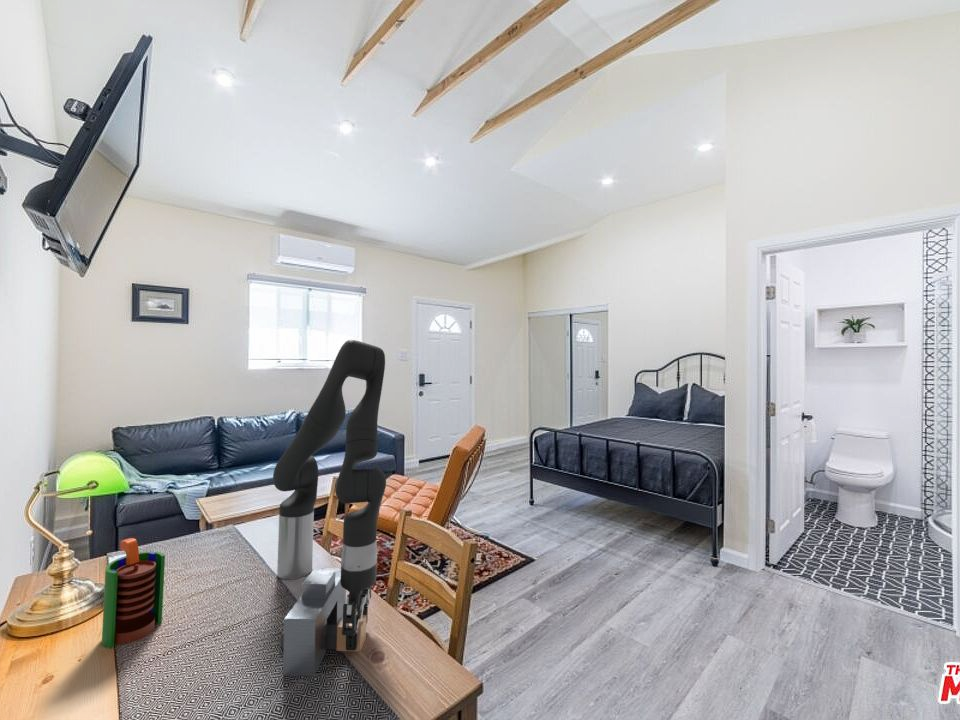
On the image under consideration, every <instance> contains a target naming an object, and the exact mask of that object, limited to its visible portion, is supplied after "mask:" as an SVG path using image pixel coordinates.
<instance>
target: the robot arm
mask: <svg viewBox="0 0 960 720" xmlns="http://www.w3.org/2000/svg"><path fill="white" fill-rule="evenodd" d="M385 369H386V355H385V351H384V350H383V348H381V347H378V346H376V345H372V344H371V343H366V342H363V341H359V340H356V339H348V340H346V341H345V342H344V343H343V344H342V345H341V347H340V349H339V350H338V352H337V355H336V357H335V359H334V360H333V363H332V366H331V369H330V370H329V373H328V376H327V377H326V380H325V382H324V384H323V386H322V388H321V389H320V391H319V393H318V395H317V397H316V399H315V401H314V402H313V403H312V405H311V407H310V408H309V411H308V412H307V413H306V415H305V418H304V420H303V422H302V424H301V426H300V427H299V429H298V431H297V433H296V434H295V436H294V438H293V440H292V441H291V443H290V444H289V446H288V447H287V449H286V450H285V451H284V453H283V454H282V456H281V457H280V458H279V460H278V461H277V463H276V464H275V467H274V468H273V475H272V483H273V485H274V487H275V489H276V490H278V491H280V492H292V494H291V495H290V496H289V497H287V498H286V499H283V501H281V503H280V504H279V508H278V510H279V511H278V542H277V543H278V544H277V545H278V546H277V547H278V548H277V571H276V573H277V574H276V575H277V577H278V578H279V579H282V580H297V579H301V578H303V577H306V576H308V575H310V573H311V572H312V571H313V557H314V556H313V553H314V552H313V551H314V520H315V519H314V517H315V516H314V515H315V504H316V501H317V496H318V484H319V466H318V465H319V464H318V462H317V459H316V458H315V457H314V456H313V455H314V454H316V453H318V452H319V451H320V450H322V448H324V447H325V446H326V445H327V444H329V443H330V442H331V441H332V440H333V438H335V437H336V435H337V434H338V432H339V430H340V429H341V427H342V425H343V423H344V421H345V419H346V414H347V410H346V404H345V400H344V396H343V385H344V383H345V381H346V380H347V378H348V377H349V378H350V377H351V378H355V379H359V380H364V381H365V393H364V394H363V397H362V398H361V399H360V401H359V402H358V404H357V405H356V406H355V408H354V409H353V411H352V412H351V414H350V416H349V417H348V420H347V424H346V431H345V432H346V433H345V452H344V458H343V461H342V464H341V469H340V472H339V474H338V477H337V480H336V483H335V489H334V490H335V491H334V493H335V496H336V498H337V500H338V501H339V502H340V503H342V504H360V503H367V504H366V505H365V506H364V507H362V508H360V509H357V510H353V511H351V512H349V513H347V514H346V515H345V516H344V517H343V525H342V527H343V529H342V548H341V556H340V559H341V560H340V568H341V586H342V587H343V588H344V589H346V591H347V592H349V594H346V604H344V606H343V624H342V635H346V650H356V648H357V637H358V625H359V620H361V619H362V615H367V617H366V625H367V624H368V620H369V619H368V618H369V617H368V614H369V613H368V612H369V611H368V610H369V608H368V607H369V605H370V600H371V598H372V586H373V585H375V583H376V582H377V570H378V569H377V568H378V567H377V566H378V565H377V564H378V544H377V525H378V523H377V522H378V517H379V510H380V507H381V504H382V500H383V498H384V494H385V491H386V488H387V478H386V475H385V473H384V472H383V471H382V470H381V468H380V469H379V468H360V469H359V468H358V469H354V468H355V467H356V465H358V464H360V463H362V462H366V461H371V460H372V459H374V458H376V457H377V454H378V419H379V409H380V403H381V397H382V391H383V383H384V375H385ZM349 624H352V626H349Z"/></svg>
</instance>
